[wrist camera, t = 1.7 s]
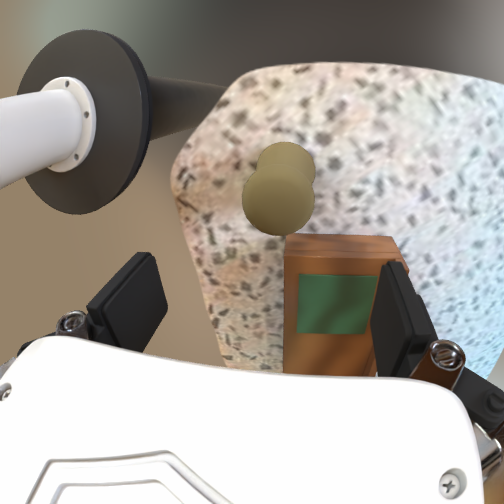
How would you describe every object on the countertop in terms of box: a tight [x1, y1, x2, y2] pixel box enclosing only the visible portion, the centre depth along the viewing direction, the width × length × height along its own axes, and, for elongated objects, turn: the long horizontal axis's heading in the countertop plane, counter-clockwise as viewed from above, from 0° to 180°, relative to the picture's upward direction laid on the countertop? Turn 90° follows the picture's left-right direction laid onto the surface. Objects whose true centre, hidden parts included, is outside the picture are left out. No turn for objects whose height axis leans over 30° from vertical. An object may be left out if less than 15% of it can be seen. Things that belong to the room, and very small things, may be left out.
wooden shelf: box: [283, 233, 409, 377], centre depth 33 cm, size 12×22×7 cm, turn 3°
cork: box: [242, 142, 315, 236], centre depth 24 cm, size 6×6×11 cm
